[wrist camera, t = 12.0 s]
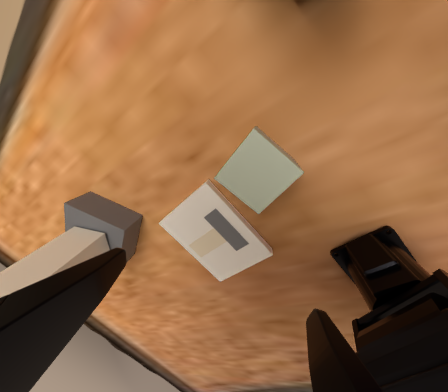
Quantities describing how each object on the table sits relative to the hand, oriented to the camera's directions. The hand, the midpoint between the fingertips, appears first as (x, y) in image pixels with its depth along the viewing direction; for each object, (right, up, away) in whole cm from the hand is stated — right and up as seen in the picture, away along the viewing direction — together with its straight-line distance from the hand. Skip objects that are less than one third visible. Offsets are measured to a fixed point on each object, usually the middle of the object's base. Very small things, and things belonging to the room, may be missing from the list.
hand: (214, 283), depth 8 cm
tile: (-1, -1, +15) cm, 15 cm away
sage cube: (+4, +8, +10) cm, 13 cm away
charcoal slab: (-16, 0, +18) cm, 24 cm away
